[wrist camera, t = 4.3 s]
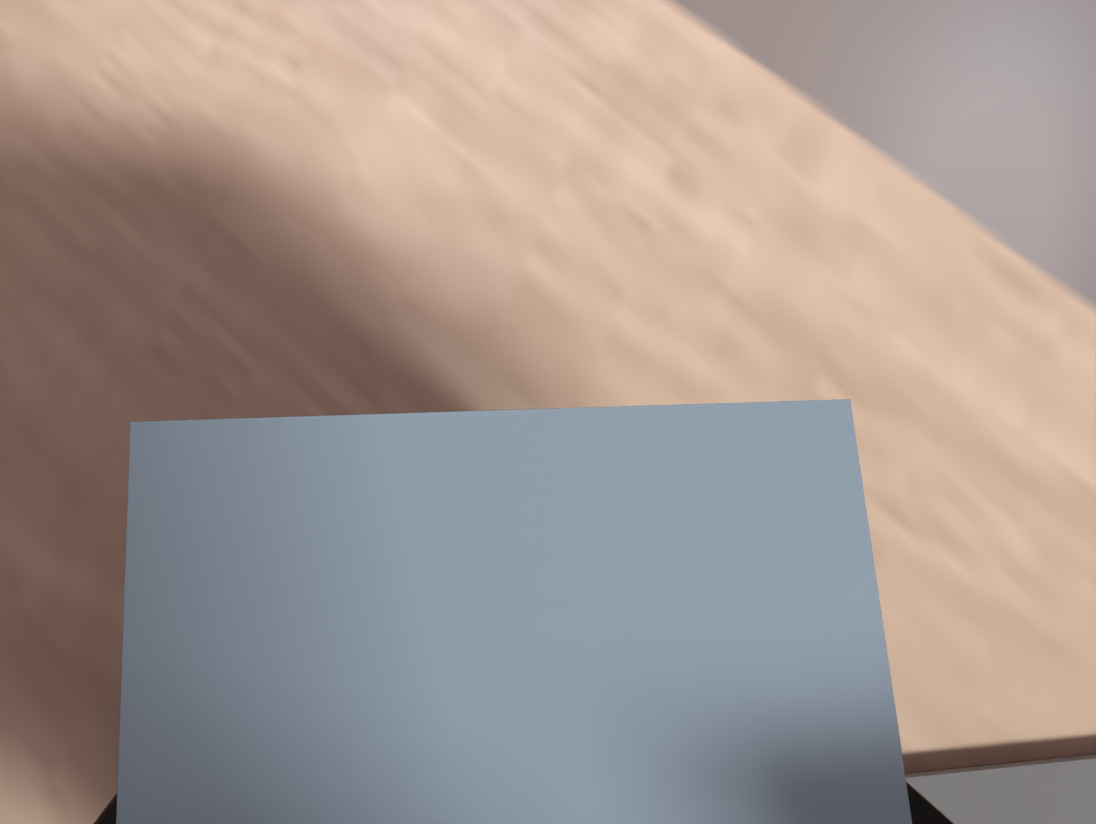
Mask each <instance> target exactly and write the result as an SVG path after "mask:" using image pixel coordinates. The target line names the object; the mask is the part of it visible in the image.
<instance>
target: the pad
mask: <svg viewBox="0 0 1096 824" xmlns="http://www.w3.org/2000/svg"><path fill="white" fill-rule="evenodd" d="M905 778H906V781H907V782H908V783H909V784H910V785H911V786H912V787H914V788H915V789H916V790H917V791H918V792H919V793H920V794H922V795H923V796H924V797H925V798H926V799H927V800H928V801H929V802H931V803H932V804H933V805H934V806H935V807H936V808H937V809H938V810H940V811H941V812H942V813H943V814H944V815H945V816H946V817H947V818H949V819H950V820H951V821H952V822H953V823H954V824H1096V754H1093V755H1083V756H1073V757H1064V758H1054V759H1044V760H1034V761H1024V762H1015V763H1005V764H995V765H985V766H975V767H966V768H956V769H946V770H936V771H926V772H917V773H907V774H905Z"/></svg>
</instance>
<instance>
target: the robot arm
mask: <svg viewBox="0 0 1096 824" xmlns="http://www.w3.org/2000/svg"><path fill="white" fill-rule="evenodd" d="M906 785H907V792H908V799H909V805H910V812H911V819H912V824H954V823H953V822H952V821H951V820H950V819H949V818H947V817H946V816H945V815H944V814H943V813H942V812H941V811H940V810H938V809H937V808H936V807H935V806H934V805H933V804H932V803H931V802H929V801H928V800H927V799H926V798H925V797H924V796H923V795H922V794H920V793H919V792H918V791H917V790H916V789H915V788H914V787H912V786H911V785H910V784H909V783H908V782H907V781H906ZM116 816H117V793H116V795H115V796H114V797H113V799H112V800H111V801H110V803H109V804H108V805H107V807H106V808H105V809H104V811H103V812H102V813H101V815H100V816H99V817H98V819H97V820H96V821H95V823H94V824H116Z"/></svg>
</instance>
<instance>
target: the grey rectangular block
mask: <svg viewBox="0 0 1096 824" xmlns="http://www.w3.org/2000/svg"><path fill="white" fill-rule="evenodd" d="M116 824H912V819H911V812H910V805H909V799H908V792H907V785H906V778H905V771H904V764H903V758H902V751H901V744H900V737H899V730H898V723H897V716H896V710H895V703H894V696H893V689H892V682H891V675H890V669H889V662H888V655H887V648H886V641H885V634H884V628H883V621H882V614H881V607H880V600H879V593H878V586H877V580H876V573H875V566H874V559H873V552H872V545H871V539H870V532H869V525H868V518H867V511H866V504H865V498H864V491H863V484H862V477H861V470H860V463H859V457H858V450H857V443H856V436H855V429H854V422H853V415H852V409H851V402H850V399H843V400H811V401H779V402H747V403H715V404H683V405H651V406H619V407H587V408H555V409H523V410H491V411H459V412H427V413H395V414H363V415H331V416H299V417H267V418H235V419H203V420H171V421H139V422H130V447H129V475H128V504H127V532H126V560H125V589H124V617H123V646H122V674H121V702H120V731H119V759H118V788H117V816H116Z"/></svg>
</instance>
